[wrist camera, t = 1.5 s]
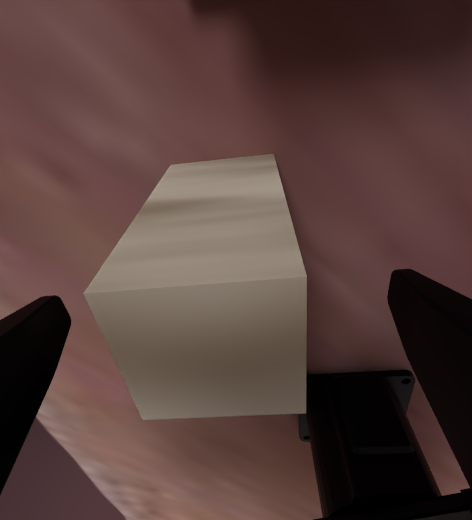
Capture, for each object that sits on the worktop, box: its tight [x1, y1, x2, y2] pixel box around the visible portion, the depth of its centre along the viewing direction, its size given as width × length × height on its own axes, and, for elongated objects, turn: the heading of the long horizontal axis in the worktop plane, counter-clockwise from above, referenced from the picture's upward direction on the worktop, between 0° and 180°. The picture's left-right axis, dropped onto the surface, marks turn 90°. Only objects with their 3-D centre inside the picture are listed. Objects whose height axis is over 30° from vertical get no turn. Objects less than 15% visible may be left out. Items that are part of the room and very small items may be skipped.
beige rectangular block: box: [83, 154, 307, 420], centre depth 10 cm, size 4×4×8 cm
